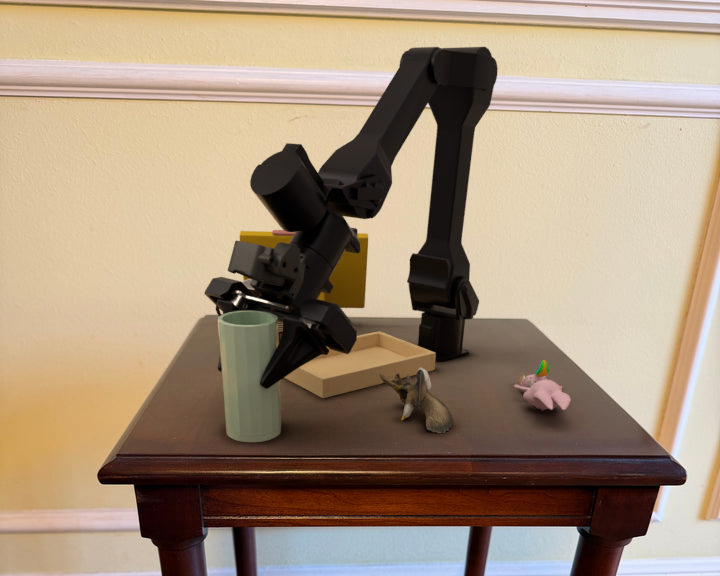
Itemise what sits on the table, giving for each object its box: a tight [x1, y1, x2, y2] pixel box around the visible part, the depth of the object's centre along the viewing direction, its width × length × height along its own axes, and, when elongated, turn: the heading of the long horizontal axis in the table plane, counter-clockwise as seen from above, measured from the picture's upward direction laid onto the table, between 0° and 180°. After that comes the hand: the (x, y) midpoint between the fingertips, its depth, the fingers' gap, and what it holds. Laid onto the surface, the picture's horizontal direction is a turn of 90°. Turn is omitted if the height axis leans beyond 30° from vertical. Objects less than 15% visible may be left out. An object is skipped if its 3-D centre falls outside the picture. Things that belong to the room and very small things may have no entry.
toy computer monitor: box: [239, 229, 369, 309], centre depth 111 cm, size 20×8×16 cm, turn 93°
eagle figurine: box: [380, 367, 454, 434], centre depth 81 cm, size 8×7×9 cm
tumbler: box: [217, 310, 282, 443], centre depth 75 cm, size 6×6×13 cm
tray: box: [283, 331, 436, 399], centre depth 96 cm, size 20×13×3 cm, turn 128°
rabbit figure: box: [513, 359, 572, 412], centre depth 85 cm, size 6×6×15 cm
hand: (241, 379), depth 74 cm, fingers closed on tumbler, 6 cm apart
